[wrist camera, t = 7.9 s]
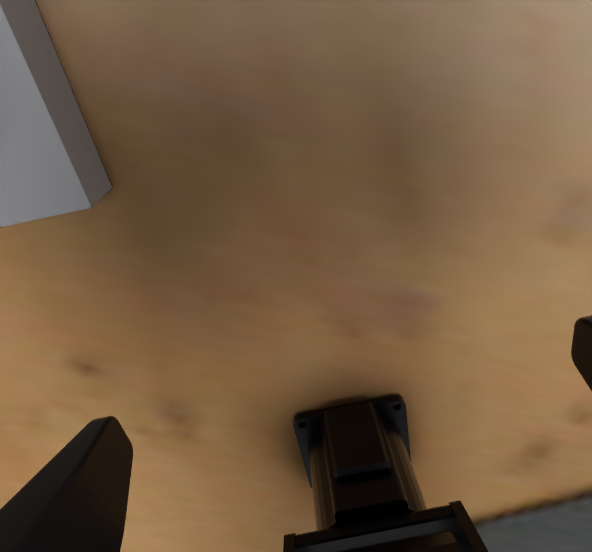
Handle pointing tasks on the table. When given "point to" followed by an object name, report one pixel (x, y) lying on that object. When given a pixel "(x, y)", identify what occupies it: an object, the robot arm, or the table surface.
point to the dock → (40, 126)
